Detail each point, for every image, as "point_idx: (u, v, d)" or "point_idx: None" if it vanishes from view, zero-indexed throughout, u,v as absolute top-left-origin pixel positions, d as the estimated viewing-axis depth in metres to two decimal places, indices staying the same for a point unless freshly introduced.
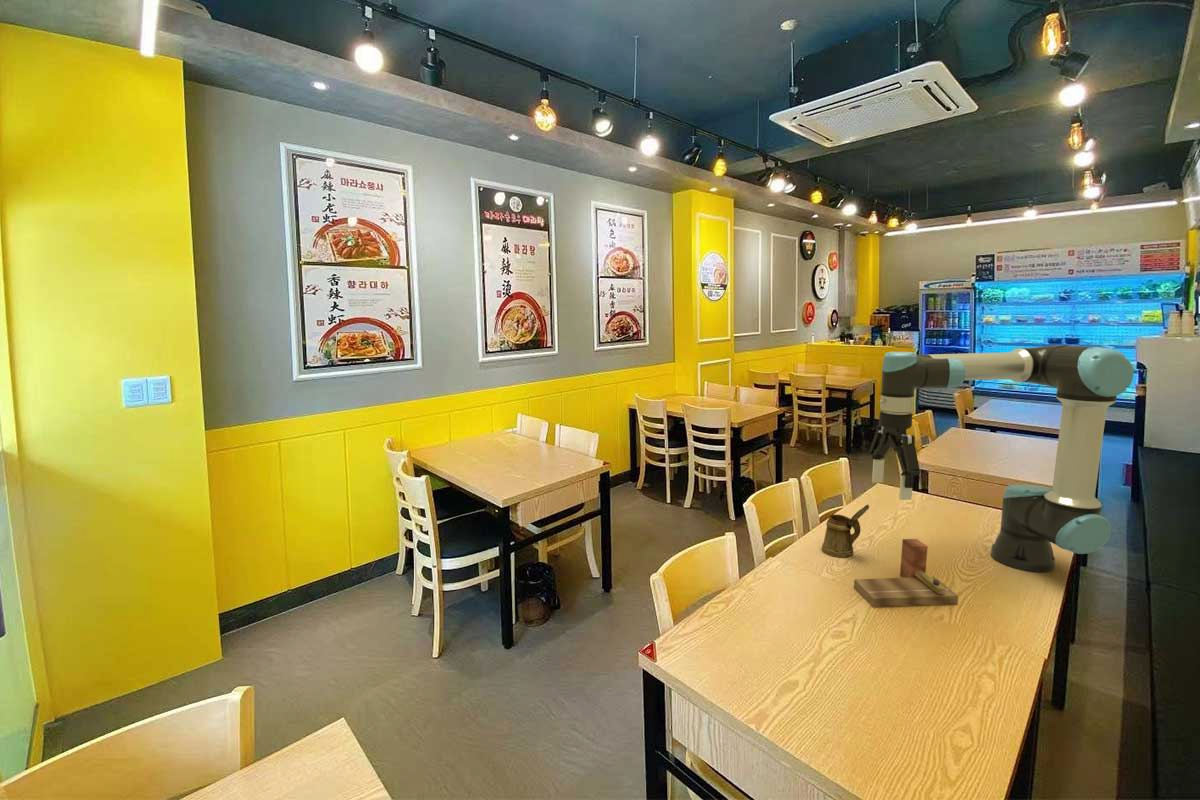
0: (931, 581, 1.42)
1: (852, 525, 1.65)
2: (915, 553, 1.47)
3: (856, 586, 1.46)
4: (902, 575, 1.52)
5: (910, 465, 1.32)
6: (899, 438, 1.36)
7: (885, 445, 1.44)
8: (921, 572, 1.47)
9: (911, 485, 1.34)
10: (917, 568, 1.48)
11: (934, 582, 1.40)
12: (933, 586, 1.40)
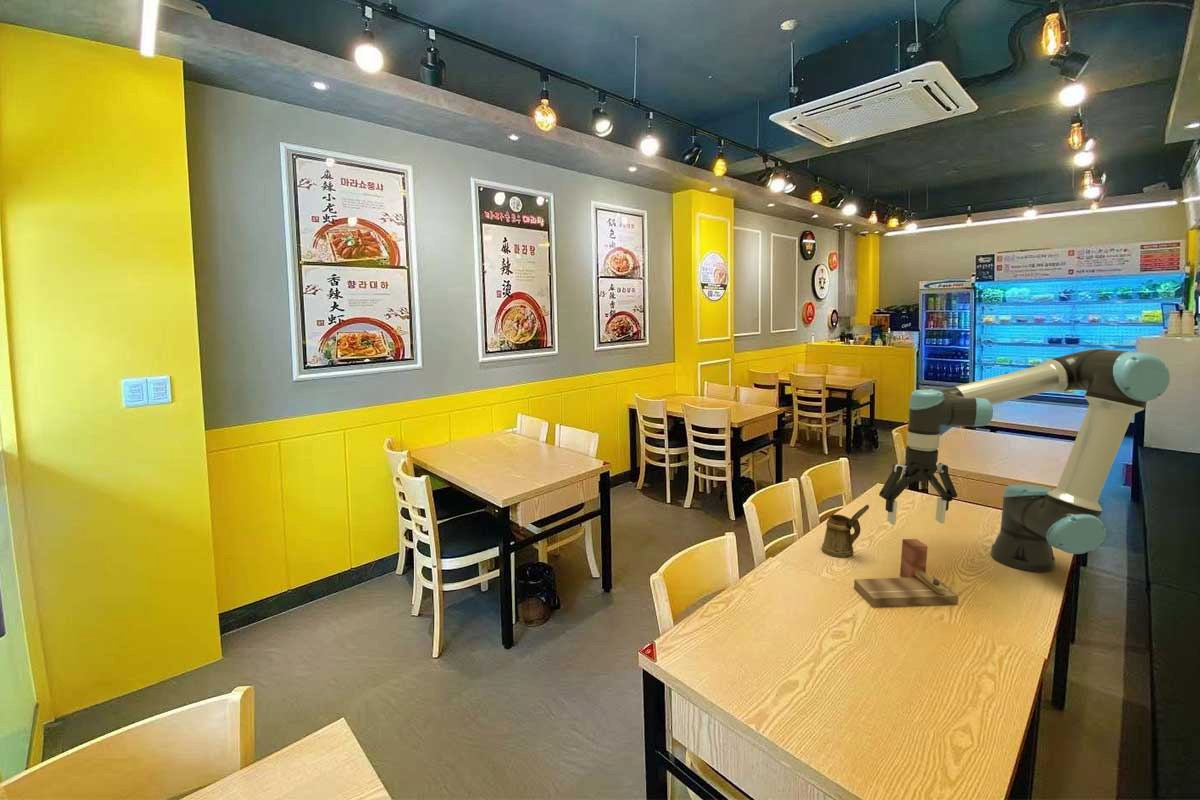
0: (931, 581, 1.42)
1: (852, 525, 1.65)
2: (915, 553, 1.47)
3: (856, 586, 1.46)
4: (902, 575, 1.52)
5: (883, 488, 1.47)
6: None
7: (930, 481, 1.47)
8: (921, 572, 1.47)
9: (887, 509, 1.47)
10: (917, 568, 1.48)
11: (934, 582, 1.40)
12: (933, 586, 1.40)
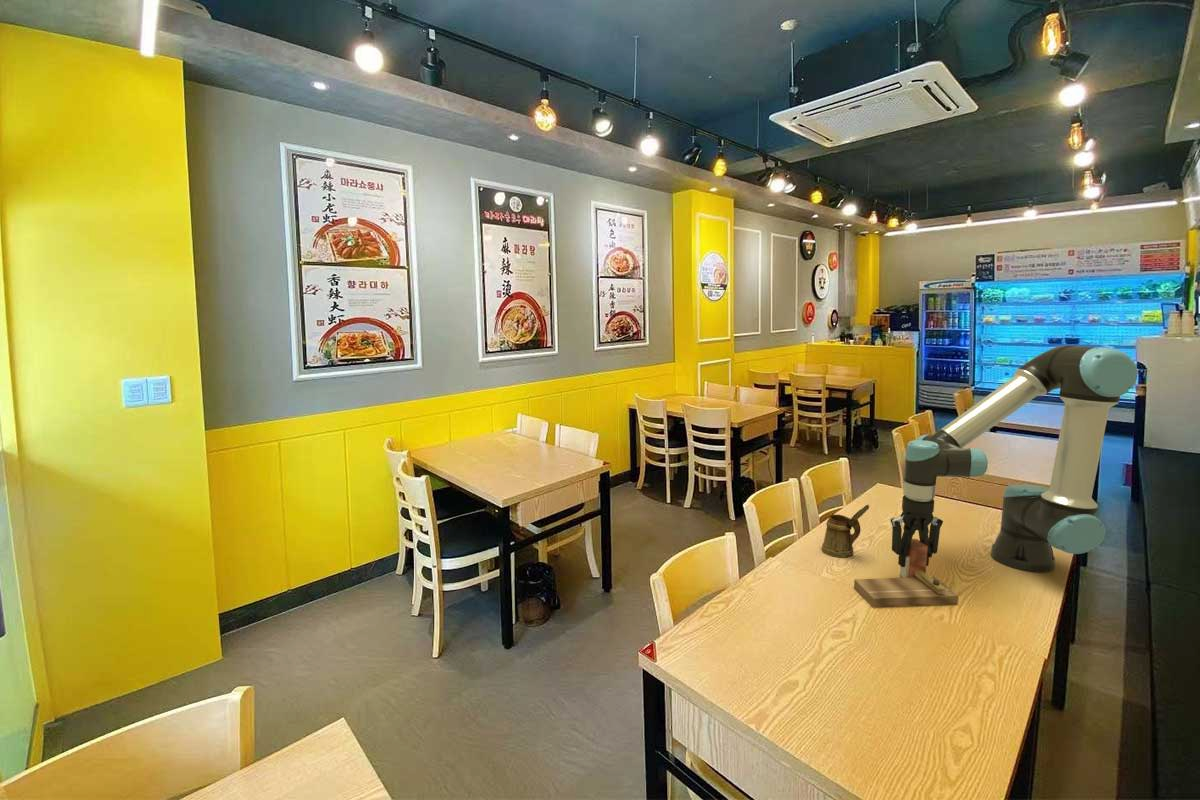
0: (931, 581, 1.42)
1: (852, 525, 1.65)
2: (915, 553, 1.47)
3: (856, 586, 1.46)
4: None
5: (892, 544, 1.50)
6: None
7: (920, 532, 1.49)
8: (921, 572, 1.47)
9: (900, 564, 1.50)
10: (917, 568, 1.48)
11: (934, 582, 1.40)
12: (933, 586, 1.40)
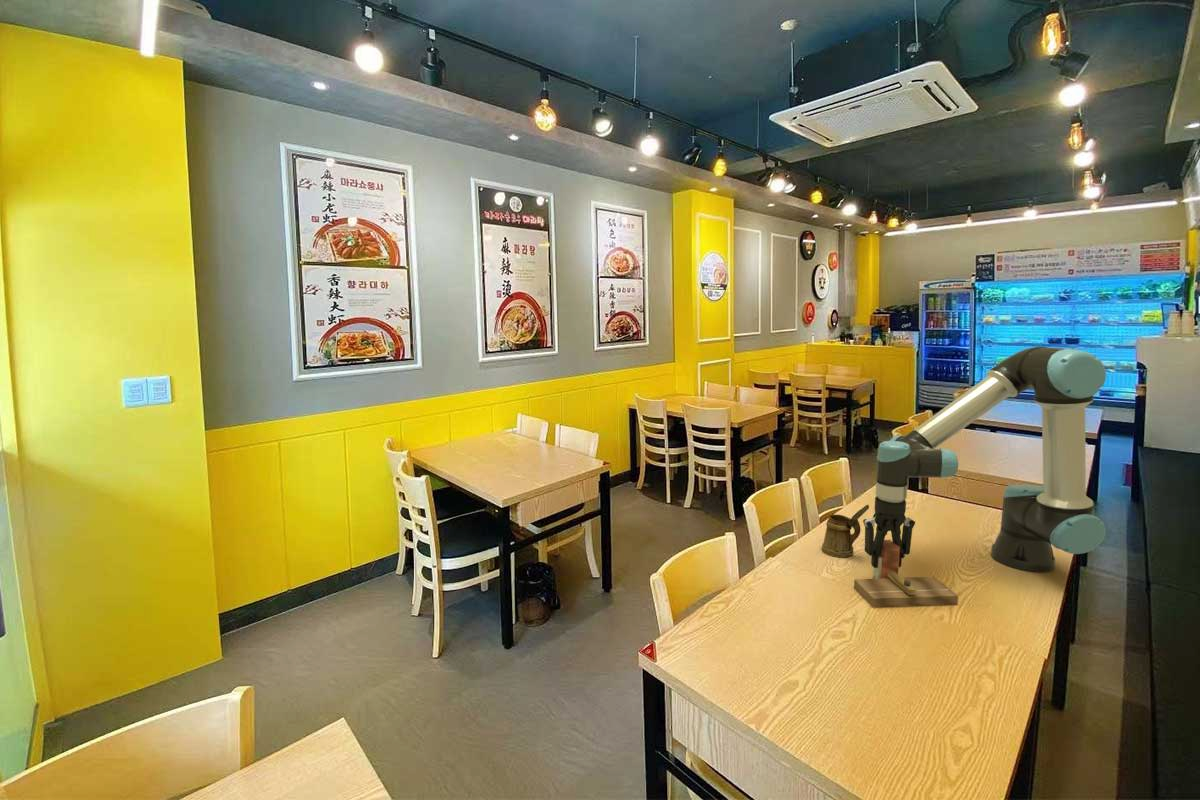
0: (902, 582, 1.42)
1: (852, 525, 1.65)
2: (888, 553, 1.47)
3: (856, 586, 1.46)
4: None
5: (865, 545, 1.50)
6: None
7: (892, 533, 1.49)
8: (893, 573, 1.47)
9: (873, 564, 1.50)
10: (889, 569, 1.48)
11: (905, 583, 1.40)
12: (904, 587, 1.40)
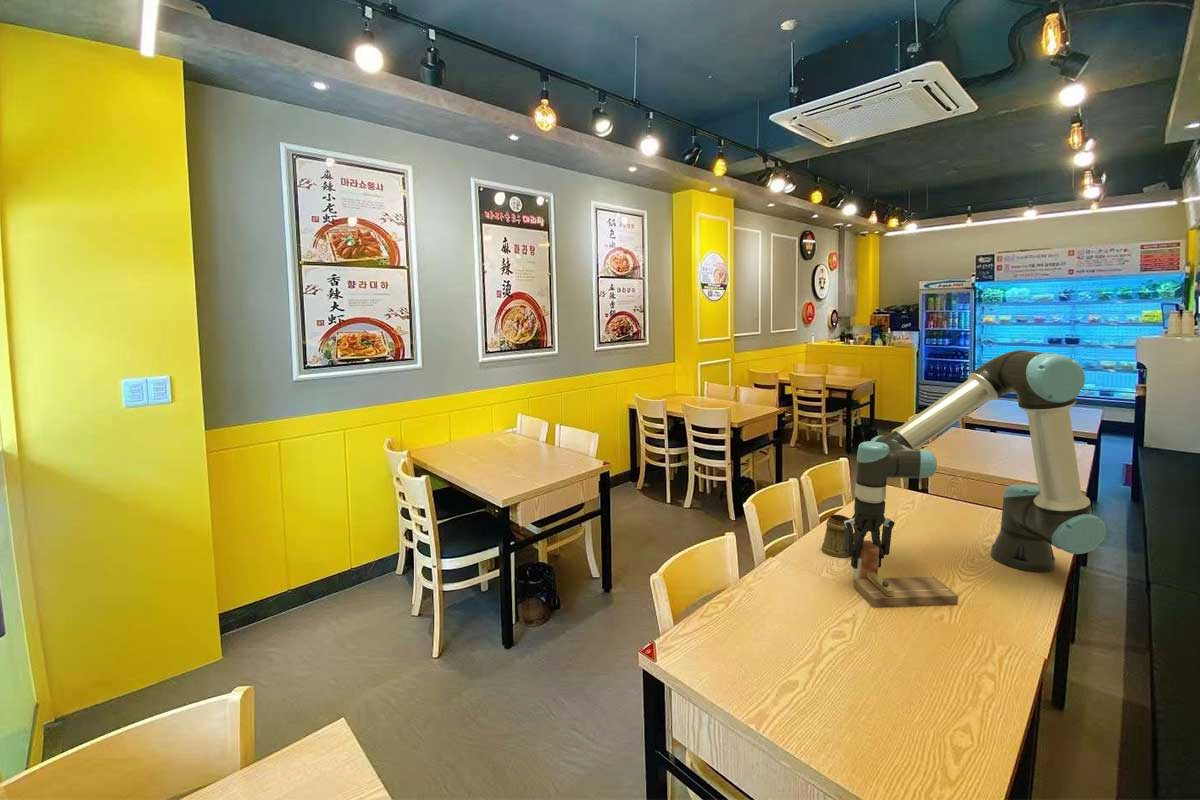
0: (881, 583, 1.42)
1: None
2: (867, 554, 1.47)
3: (856, 586, 1.46)
4: None
5: (845, 545, 1.50)
6: None
7: (872, 533, 1.49)
8: (872, 574, 1.47)
9: (852, 565, 1.50)
10: (869, 570, 1.48)
11: (883, 584, 1.40)
12: (882, 588, 1.40)
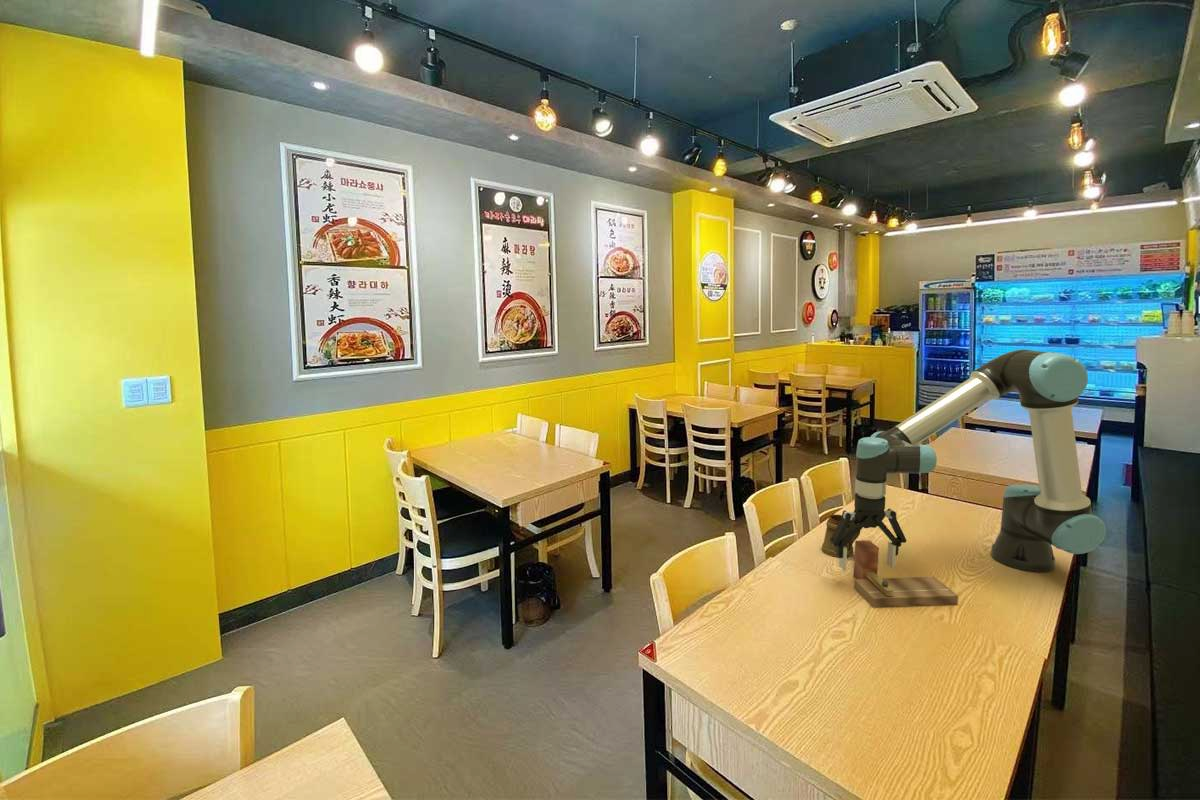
0: (881, 583, 1.42)
1: None
2: (867, 554, 1.47)
3: (856, 586, 1.46)
4: (855, 577, 1.52)
5: (833, 534, 1.49)
6: None
7: (879, 527, 1.49)
8: (872, 574, 1.47)
9: (838, 555, 1.49)
10: (869, 570, 1.48)
11: (883, 584, 1.40)
12: (882, 588, 1.40)
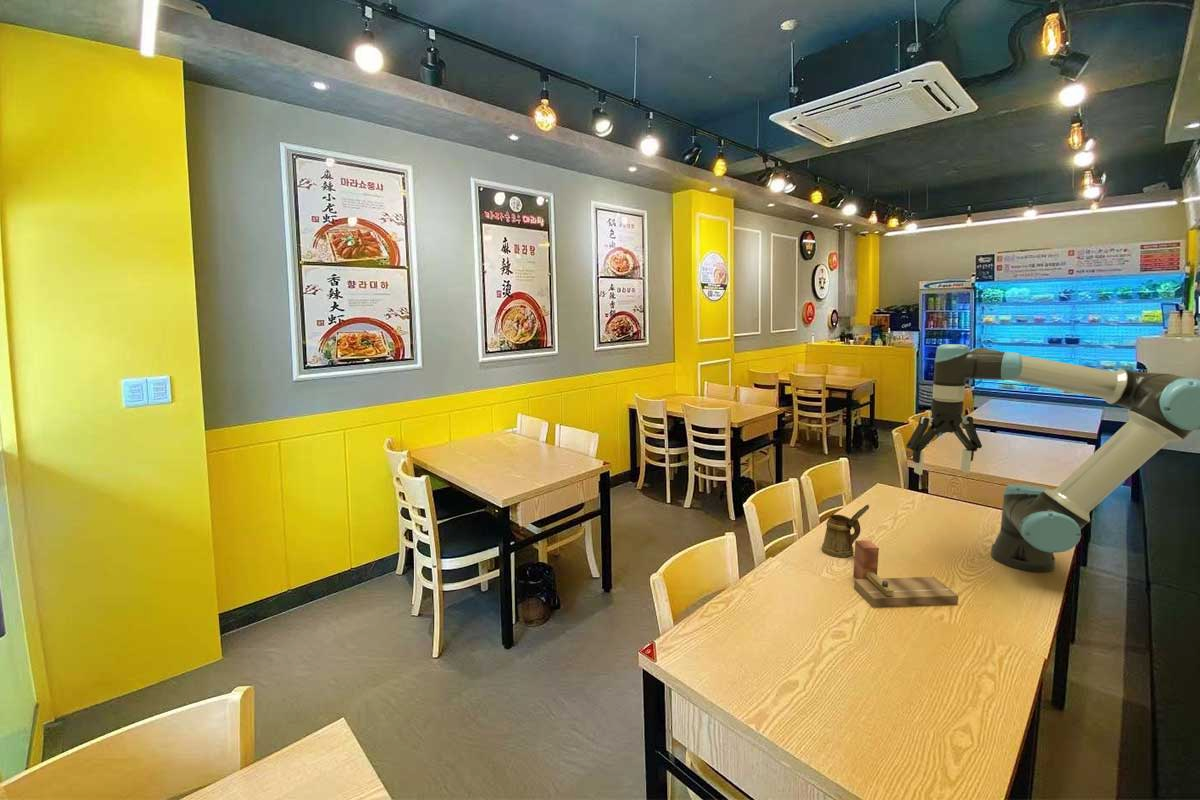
0: (881, 583, 1.42)
1: (852, 525, 1.65)
2: (867, 554, 1.47)
3: (856, 586, 1.46)
4: (855, 577, 1.52)
5: (910, 440, 1.53)
6: None
7: (955, 433, 1.53)
8: (872, 574, 1.47)
9: (914, 460, 1.53)
10: (869, 570, 1.48)
11: (883, 584, 1.40)
12: (882, 588, 1.40)
